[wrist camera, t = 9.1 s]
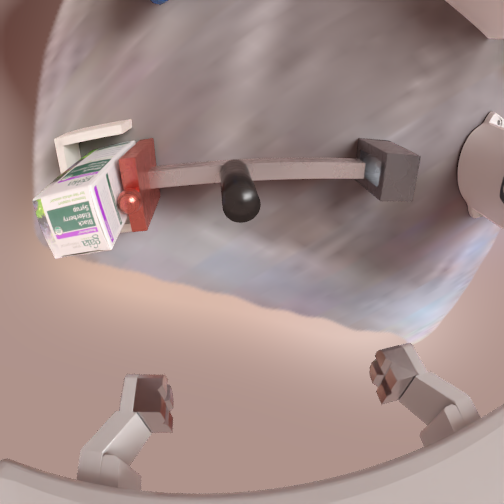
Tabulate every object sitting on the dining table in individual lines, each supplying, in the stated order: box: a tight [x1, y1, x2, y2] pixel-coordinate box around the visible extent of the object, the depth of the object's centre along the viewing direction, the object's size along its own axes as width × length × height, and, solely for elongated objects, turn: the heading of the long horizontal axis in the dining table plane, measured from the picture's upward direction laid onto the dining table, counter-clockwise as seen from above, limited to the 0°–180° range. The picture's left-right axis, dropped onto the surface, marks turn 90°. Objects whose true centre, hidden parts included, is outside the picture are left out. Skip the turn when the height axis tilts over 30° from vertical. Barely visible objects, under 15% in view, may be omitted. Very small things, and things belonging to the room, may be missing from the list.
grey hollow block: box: [355, 138, 420, 201], centre depth 32 cm, size 4×5×7 cm
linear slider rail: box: [117, 138, 366, 232], centre depth 27 cm, size 24×7×12 cm, turn 91°
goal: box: [54, 119, 132, 233], centre depth 30 cm, size 8×12×4 cm, turn 1°
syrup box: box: [33, 141, 136, 259], centre depth 25 cm, size 6×6×14 cm
